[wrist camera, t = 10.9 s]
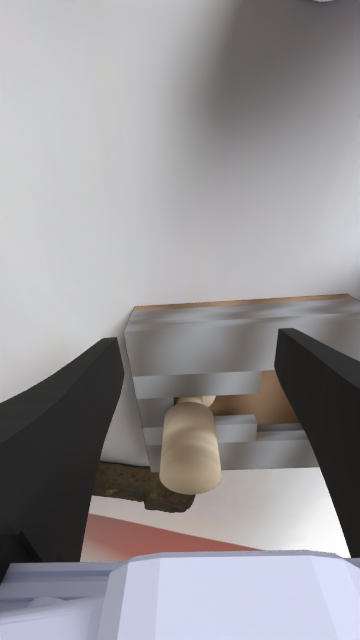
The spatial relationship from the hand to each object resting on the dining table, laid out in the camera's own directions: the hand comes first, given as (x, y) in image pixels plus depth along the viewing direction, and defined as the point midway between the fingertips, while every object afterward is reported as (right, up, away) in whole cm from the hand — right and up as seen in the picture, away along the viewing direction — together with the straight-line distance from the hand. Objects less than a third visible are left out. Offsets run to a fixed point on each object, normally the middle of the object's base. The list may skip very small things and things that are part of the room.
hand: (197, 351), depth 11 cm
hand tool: (-8, -16, +20) cm, 27 cm away
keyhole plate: (+5, -4, +14) cm, 15 cm away
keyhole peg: (0, -5, +13) cm, 14 cm away
